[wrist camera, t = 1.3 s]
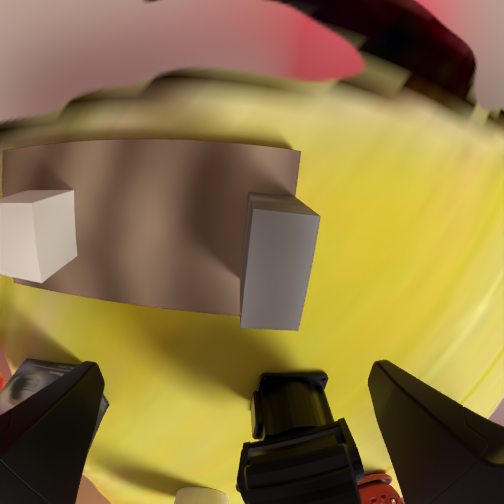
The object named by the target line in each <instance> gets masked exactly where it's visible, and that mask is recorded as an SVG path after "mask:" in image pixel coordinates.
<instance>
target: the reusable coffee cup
mask: <svg viewBox="0 0 504 504" xmlns="http://www.w3.org/2000/svg"><path fill="white" fill-rule="evenodd" d="M174 504H229V499H228V495H227V494H226V493H224V492H221V491H218V490H215V489H210V488H203V487H186V488H181V489H179V490H178V492H177V495H176V499H175V502H174Z"/></svg>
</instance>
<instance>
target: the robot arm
mask: <svg viewBox="0 0 504 504" xmlns="http://www.w3.org/2000/svg"><path fill="white" fill-rule="evenodd" d="M264 378H267V379H264ZM322 378H323V379H322ZM327 381H328V376H327V374H326V373H309V374H281V373H264V374H262V375H261V376H260V380H259V385H258V391H255V392H253V397H252V403H251V422H252V437H253V438H254V439H259V441H257V442H251V443H250V442H246V443H243V449H242V451H241V457H240V463H239V470H238V476H237V484H236V489H237V491H238V492H240V493H241V496H242V498H243V501H244V502H245V504H362V501H361V497H360V493H359V489H358V485H357V482H361V481H363V480H365V475H364V470H363V465H362V462H361V458H360V455H359V452H358V449H357V447H356V444H355V442H354V439H353V437H352V435H351V433H350V430H349V428H348V426H347V423H346V421H345V419H344V418H341V419H338V421H335V422H334V419H333V416H332V413H331V410H330V407H329V404H328V401H327V398H326V395H325V392H324V389H325V386H326V384H327ZM104 385H105V383H104V379H103V376H102V374H101V371H100V369H99V366H98V364H97V363H95V362H91V361H85V362H83V363H81V364H80V365H78V366H77V367H75V368H74V369H72V370H70V371H69V372H67V373H66V374H64V375H63V376H61V377H60V378H58V379H56V380H55V381H53V382H52V383H50V384H49V385H47V386H45V387H44V388H42V389H41V390H39V391H38V392H36V393H34V394H33V395H31V396H30V397H28V398H27V399H25V400H23V401H22V402H20V403H19V404H17V405H16V406H14V407H13V408H11V409H9V410H8V411H6V412H4V413H3V414H1V415H0V504H75V502H76V498H77V493H78V489H79V485H80V481H81V477H82V473H83V469H84V465H85V461H86V458H87V454H88V451H89V447H90V444H91V440H92V437H93V434H94V430H95V427H96V424H97V419H98V415H99V409H100V405H101V400H102V395H103V391H104ZM368 387H369V390H370V394H371V398H372V402H373V406H374V410H375V415H376V418H377V422H378V425H379V428H380V431H381V433H382V436H383V439H384V442H385V444H386V447H387V450H388V453H389V456H390V459H391V462H392V465H393V468H394V470H395V473H396V477H397V480H398V483H399V486H400V489H401V492H402V495H403V498H404V502H405V504H504V427H503V426H501V425H499V424H497V423H494V422H492V421H490V420H488V419H486V418H484V417H482V416H480V415H478V414H477V413H475V412H473V411H471V410H469V409H468V408H466V407H463V406H462V405H461V404H459V403H457V402H456V401H454V400H452V399H451V398H449V397H447V396H446V395H444V394H442V393H441V392H439V391H437V390H436V389H434V388H432V387H431V386H429V385H427V384H426V383H424V382H422V381H421V380H419V379H417V378H416V377H414V376H412V375H411V374H409V373H407V372H406V371H404V370H403V369H401V368H399V367H398V366H396V365H394V364H393V363H391V362H390V361H388V360H379V361H375V362H374V364H373V366H372V369H371V372H370V375H369V378H368Z"/></svg>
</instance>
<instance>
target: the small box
mask: <svg viewBox="0 0 504 504" xmlns="http://www.w3.org/2000/svg"><path fill="white" fill-rule="evenodd" d="M75 367H77V366H76V365H67V364H60V363H52V362H46V361H39V360H33V359H28V358H27V359H26V360H25V361H24V362H23V364H22V365H21V366H20V367H19V368H18V370H17V371H16V372H15V374H14V375H13V376H12V377H11V379H10V380H9V381H8V383H7V384H6V385H5V386H4V388H3V389H2V390H1V392H0V415H1V414H3V413H4V412H6V411H8V410H9V409H11V408H13V407H14V406H16V405H17V404H19V403H20V402H22V401H23V400H25V399H27V398H28V397H30V396H31V395H33V394H34V393H36V392H38V391H39V390H41V389H42V388H44V387H45V386H47V385H49V384H50V383H52V382H53V381H55V380H56V379H58V378H60V377H61V376H63V375H64V374H66V373H67V372H69V371H70V370H72V369H74V368H75ZM108 406H109V403H108V401H107V400H106V398H105V396H104V395H102V400H101V405H100V409H99V415H98V419H97V424H96V427H95V430H94V434H93V437H92V440H91V444H92V442H93V439H94V437H95V435H96V432H97V430H98V428H99V425H100V423H101V421H102V418H103V416H104V414H105V412H106V410H107V408H108ZM91 444H90V447H91ZM90 447H89V449H90ZM88 452H89V451H88Z"/></svg>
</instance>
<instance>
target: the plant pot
mask: <svg viewBox="0 0 504 504" xmlns="http://www.w3.org/2000/svg"><path fill="white" fill-rule="evenodd" d="M391 482H392V478H391V477H390V476H389V475H387V474H372V475H368V476H365V480H363V481H361V482H357V485H358V489H359V493H360V497H361V501H362V504H392V501H393V499H394V500H395V502H396V504H403V502H402V500H401V498H400V496H399V494H398V493H397V492H396V490H395V489H394V488H393V487H392V486H390V485H389V484H390V483H391Z"/></svg>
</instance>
